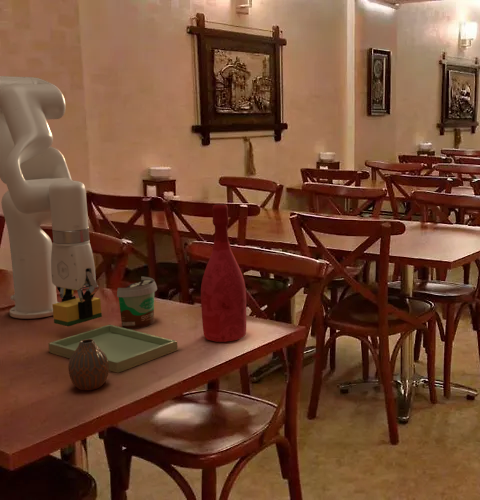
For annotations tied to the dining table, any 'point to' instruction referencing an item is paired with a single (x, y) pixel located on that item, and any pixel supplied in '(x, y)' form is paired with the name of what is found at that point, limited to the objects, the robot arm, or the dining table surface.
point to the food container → (137, 303)
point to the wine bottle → (223, 287)
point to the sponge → (74, 312)
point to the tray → (118, 346)
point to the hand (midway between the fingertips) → (78, 315)
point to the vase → (88, 366)
